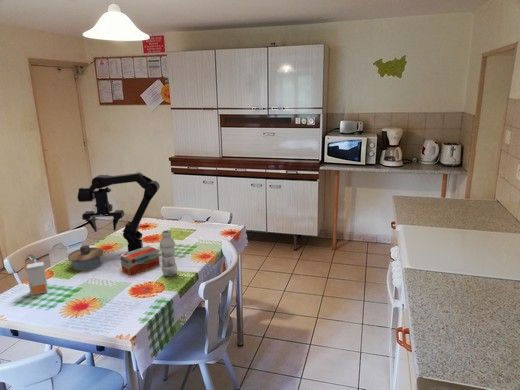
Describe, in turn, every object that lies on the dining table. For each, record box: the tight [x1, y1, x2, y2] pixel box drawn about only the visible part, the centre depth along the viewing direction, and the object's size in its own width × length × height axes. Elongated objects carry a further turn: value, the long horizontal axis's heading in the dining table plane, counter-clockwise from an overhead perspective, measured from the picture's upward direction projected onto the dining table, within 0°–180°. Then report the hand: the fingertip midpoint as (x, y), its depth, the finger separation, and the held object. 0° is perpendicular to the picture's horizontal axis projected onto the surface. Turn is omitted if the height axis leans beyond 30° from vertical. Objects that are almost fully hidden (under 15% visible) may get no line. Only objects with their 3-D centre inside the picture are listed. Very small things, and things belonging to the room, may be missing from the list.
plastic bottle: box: [159, 230, 178, 277], centre depth 167 cm, size 6×7×20 cm
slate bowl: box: [71, 256, 102, 272], centre depth 180 cm, size 12×12×5 cm
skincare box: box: [26, 261, 48, 296], centre depth 154 cm, size 6×4×12 cm
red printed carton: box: [120, 245, 160, 276], centre depth 176 cm, size 15×8×8 cm, turn 139°
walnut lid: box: [67, 244, 104, 262], centre depth 179 cm, size 15×15×4 cm
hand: (105, 231), depth 191 cm, fingers open, 9 cm apart
